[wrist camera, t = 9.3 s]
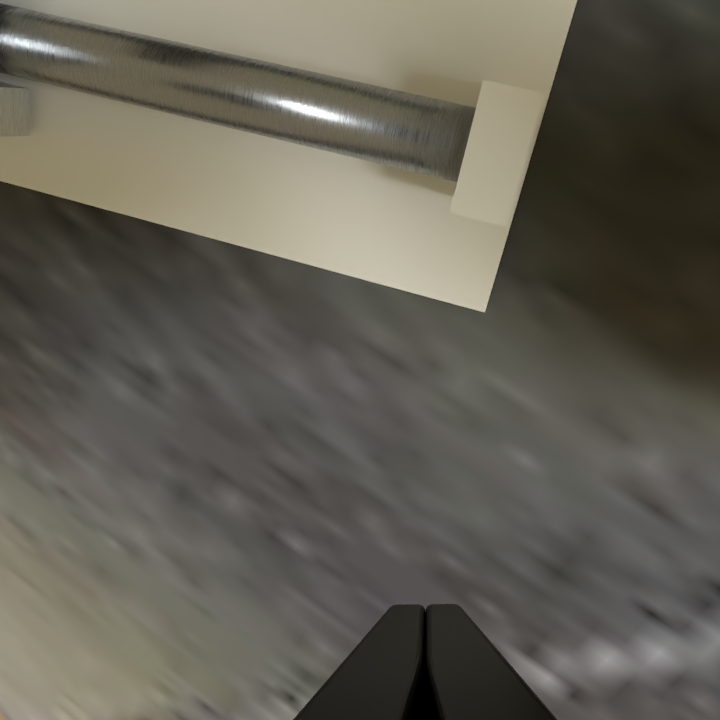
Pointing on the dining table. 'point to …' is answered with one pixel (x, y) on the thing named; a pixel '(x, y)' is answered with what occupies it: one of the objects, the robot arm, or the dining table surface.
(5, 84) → the beige tall block
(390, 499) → the dining table surface
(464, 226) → the base board
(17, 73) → the steel pipe
